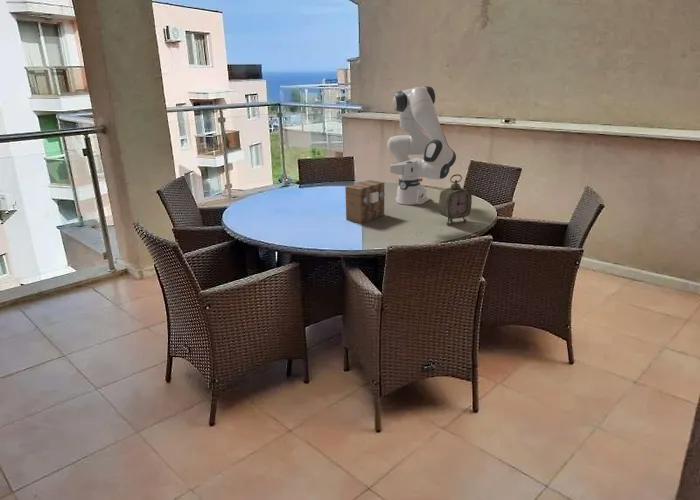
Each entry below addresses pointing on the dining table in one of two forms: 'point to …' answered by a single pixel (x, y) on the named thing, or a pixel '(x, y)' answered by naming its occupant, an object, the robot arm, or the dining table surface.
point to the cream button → (373, 197)
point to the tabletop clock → (455, 201)
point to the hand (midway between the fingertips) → (393, 164)
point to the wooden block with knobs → (364, 201)
